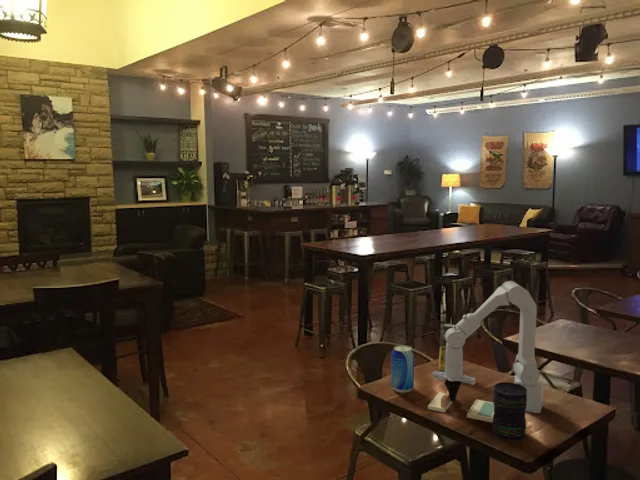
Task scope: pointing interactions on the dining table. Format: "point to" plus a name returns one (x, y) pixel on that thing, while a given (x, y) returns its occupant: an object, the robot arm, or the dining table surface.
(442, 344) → the sauce bottle
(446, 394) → the cream and brown block
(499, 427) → the storage jar
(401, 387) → the beer can
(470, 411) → the cream teal notepad
